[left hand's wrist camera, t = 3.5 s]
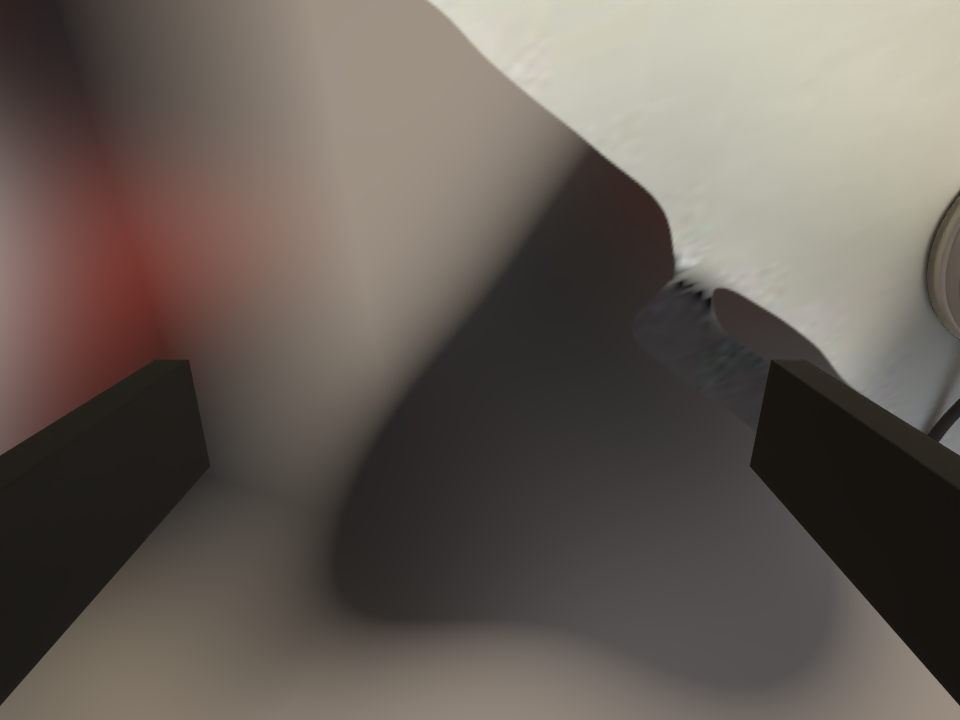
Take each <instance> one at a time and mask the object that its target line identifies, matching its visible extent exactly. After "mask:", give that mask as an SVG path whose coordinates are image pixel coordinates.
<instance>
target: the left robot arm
mask: <svg viewBox="0 0 960 720" xmlns="http://www.w3.org/2000/svg"><path fill="white" fill-rule="evenodd" d="M927 286H928V294H929V298H930V302H931V304H932V307H933V310H934V312H935V314H936V315H937V317H938V319H939V320H940V322H941V323H942V324H943V326H944V327H945V328H946V329H947V330H948V331H949V332H950V333H951V334H953V335H954V336H955V337H957V338H958V339H960V195H959V197H958V198H957V199H956V200H955V202H954V203H953V205H952V206H951V208H950V209H949V211H948V212H947V214H946V216H945V217H944V219H943V221H942V223H941V225H940V227H939V229H938V231H937V234H936V236H935V239H934V241H933V245H932V248H931V252H930V256H929V261H928V270H927ZM959 417H960V398H959V400H958V401H957V402H956V403H955V404H954V405H953V406H952V407H951V408H950V409H949V410H948V411H947V412H946V413H945V414H944V415H943V416H942V418H941V419H940V420H939V421H938V422H937V423H936V425H935V426H934V427H933V429H932V430H931V431H930V433H929V434H928V436H927V435H926V434H924V433H922V432H921V431H919V430H917V429H916V428H914V427H913V426H911V425H909V424H908V423H906V422H905V421H903V420H901V419H900V418H898V417H897V416H895V415H893V414H892V413H890V412H888V411H887V410H885V409H884V408H882V407H880V406H879V405H877V404H876V403H874V402H872V401H871V400H869V399H868V398H866V397H864V396H863V395H861V394H859V393H858V392H856V391H855V390H853V389H851V388H850V387H848V386H847V385H845V384H843V383H842V382H840V381H838V380H837V379H835V378H834V377H832V376H830V375H829V374H827V373H826V372H824V371H822V370H821V369H819V368H818V367H816V366H814V365H813V364H811V363H809V362H808V361H806V360H771V364H770V369H769V373H768V378H767V383H766V388H765V393H764V398H763V403H762V408H761V413H760V418H759V423H758V428H757V433H756V438H755V443H754V448H753V453H752V458H751V463H750V467H751V468H752V469H753V470H754V471H755V473H756V474H757V475H758V476H759V477H760V478H761V479H762V481H763V482H764V483H765V484H766V485H767V486H768V487H769V488H770V490H771V491H772V492H773V493H774V494H775V495H776V496H777V498H778V499H779V500H780V501H781V502H782V503H783V504H784V506H785V507H786V508H787V509H788V510H789V511H790V512H791V514H792V515H793V516H794V517H795V518H796V519H797V520H798V522H799V523H800V524H801V525H802V526H803V527H804V528H805V530H806V531H807V532H808V533H809V534H810V535H811V536H812V538H813V539H814V540H815V541H816V542H817V543H818V544H819V546H820V547H821V548H822V549H823V550H824V551H825V552H826V554H827V555H828V556H829V557H830V558H831V559H832V560H833V561H834V563H835V564H836V565H837V566H838V567H839V568H840V569H841V571H842V572H843V573H844V574H845V575H846V576H847V577H848V579H849V580H850V581H851V582H852V583H853V584H854V585H855V587H856V588H857V589H858V590H859V591H860V592H861V593H862V595H863V596H864V597H865V598H866V599H867V600H868V601H869V603H870V604H871V605H872V606H873V607H874V608H875V609H876V611H877V612H878V613H879V614H880V615H881V616H882V617H883V619H884V620H885V621H886V622H887V623H888V624H889V625H890V627H891V628H892V629H893V630H894V631H895V632H896V633H897V635H898V636H899V637H900V638H901V639H902V640H903V641H904V643H905V644H906V645H907V646H908V647H909V648H910V649H911V651H912V652H913V653H914V654H915V655H916V656H917V657H918V659H919V660H920V661H921V662H922V663H923V664H924V665H925V666H926V668H927V669H928V670H929V671H930V672H931V673H932V675H933V676H934V677H935V678H936V679H937V680H938V681H939V683H940V684H941V685H942V686H943V687H944V688H945V689H946V690H947V692H948V693H949V694H950V695H951V696H952V697H953V698H954V700H955V701H956V702H957V703H958V704H959V705H960V456H959V455H958V454H956V453H955V452H953V451H951V450H950V449H948V448H947V447H945V446H943V445H942V444H940V443H939V441H940V440H941V438H942V437H943V436H944V434H945V433H946V432H947V431H948V429H949V428H950V427H951V426H952V425H953V424H954V422H955V421H956V420H957V419H958V418H959ZM209 467H210V463H209V458H208V453H207V448H206V443H205V438H204V433H203V428H202V423H201V418H200V413H199V408H198V404H197V398H196V393H195V389H194V383H193V378H192V373H191V369H190V364H189V360H154V361H152V362H151V363H149V364H147V365H146V366H144V367H142V368H141V369H139V370H138V371H136V372H134V373H133V374H131V375H130V376H128V377H126V378H125V379H123V380H122V381H120V382H118V383H117V384H115V385H114V386H112V387H110V388H109V389H107V390H105V391H104V392H102V393H101V394H99V395H97V396H96V397H94V398H93V399H91V400H89V401H88V402H86V403H84V404H83V405H81V406H80V407H78V408H76V409H75V410H73V411H72V412H70V413H68V414H67V415H65V416H63V417H62V418H60V419H59V420H57V421H55V422H54V423H52V424H51V425H49V426H47V427H46V428H44V429H43V430H41V431H39V432H38V433H36V434H34V435H33V436H31V437H30V438H28V439H26V440H25V441H23V442H22V443H20V444H18V445H17V446H15V447H14V448H12V449H10V450H9V451H7V452H5V453H4V454H2V455H1V456H0V705H1V704H2V703H3V702H4V701H5V700H6V698H7V697H8V696H9V695H10V694H11V693H12V692H13V690H14V689H15V688H16V687H17V686H18V685H19V684H20V682H21V681H22V680H23V679H24V678H25V677H26V676H27V674H28V673H29V672H30V671H31V670H32V669H33V668H34V667H35V665H36V664H37V663H38V662H39V661H40V660H41V658H42V657H43V656H44V655H45V654H46V653H47V652H48V651H49V649H50V648H51V647H52V646H53V645H54V644H55V643H56V641H57V640H58V639H59V638H60V637H61V636H62V635H63V633H64V632H65V631H66V630H67V629H68V628H69V627H70V625H71V624H72V623H73V622H74V621H75V620H76V619H77V617H78V616H79V615H80V614H81V613H82V612H83V611H84V609H85V608H86V607H87V606H88V605H89V604H90V603H91V601H92V600H93V599H94V598H95V597H96V596H97V595H98V593H99V592H100V591H101V590H102V589H103V588H104V587H105V585H106V584H107V583H108V582H109V581H110V580H111V579H112V577H113V576H114V575H115V574H116V573H117V572H118V571H119V569H120V568H121V567H122V566H123V565H124V564H125V563H126V562H127V560H128V559H129V558H130V557H131V556H132V555H133V554H134V552H135V551H136V550H137V549H138V548H139V547H140V545H141V544H142V543H143V542H144V541H145V540H146V539H147V538H148V536H149V535H150V534H151V533H152V532H153V531H154V530H155V528H156V527H157V526H158V525H159V524H160V523H161V522H162V520H163V519H164V518H165V517H166V516H167V515H168V514H169V512H170V511H171V510H172V509H173V508H174V507H175V506H176V504H177V503H178V502H179V501H180V500H181V499H182V498H183V496H184V495H185V494H186V493H187V492H188V491H189V490H190V488H191V487H192V486H193V485H194V484H195V483H196V482H197V480H198V479H199V478H200V477H201V476H202V475H203V474H204V473H205V471H206V470H207V469H208V468H209Z"/></svg>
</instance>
